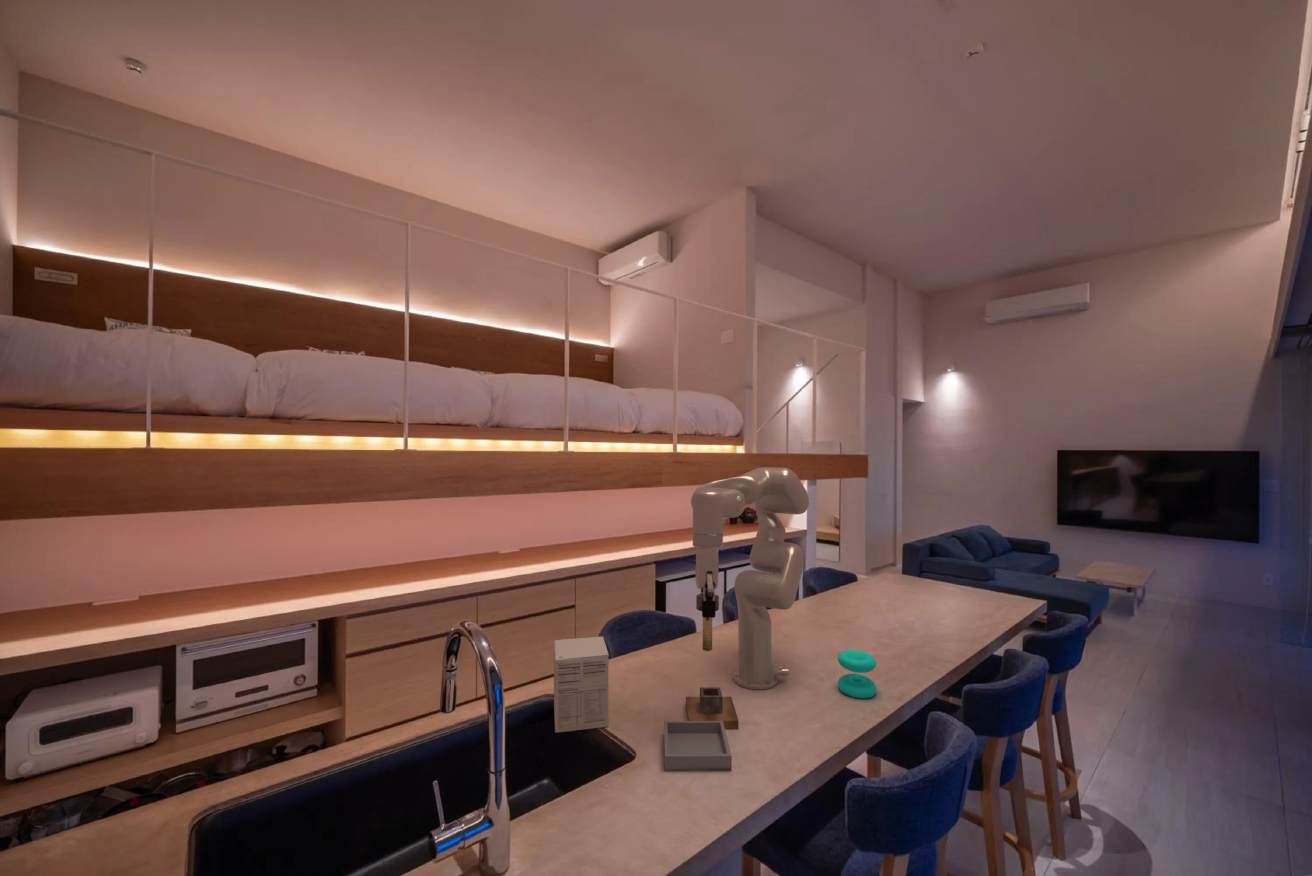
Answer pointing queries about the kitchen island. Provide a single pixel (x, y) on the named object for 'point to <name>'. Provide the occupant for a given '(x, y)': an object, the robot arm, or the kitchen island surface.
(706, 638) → the tan peg with head
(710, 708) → the eye block
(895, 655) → the kitchen island surface
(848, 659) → the donuts
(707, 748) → the tray
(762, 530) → the robot arm
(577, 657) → the supplement box
